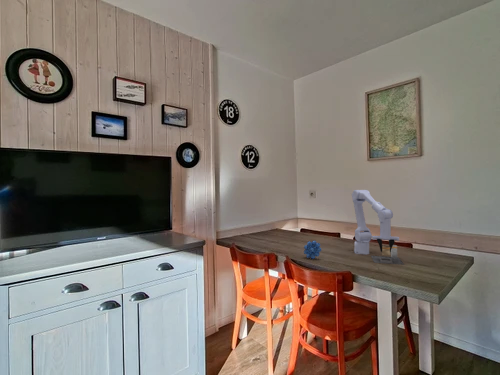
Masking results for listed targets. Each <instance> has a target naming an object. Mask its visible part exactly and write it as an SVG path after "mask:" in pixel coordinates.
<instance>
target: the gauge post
mask: <svg viewBox="0 0 500 375" xmlns="http://www.w3.org/2000/svg"><path fill="white" fill-rule="evenodd" d="M397 257H398V245H396V244H393V246H392V249H391V252H390V259H393V260H394V259H395V260H396V259H398V258H397Z"/></svg>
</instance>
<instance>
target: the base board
mask: <svg viewBox="0 0 500 375" xmlns="http://www.w3.org/2000/svg"><path fill="white" fill-rule="evenodd" d="M370 256H371V258H372V261H373V262H374V263H376V264H377V263H378V264H387V265H390V264H391V265H405V264H404V262H403V261H402V260H401V259H400V257H399V256H397V259H392V258H391V257H390V256H385V255H381V256H380V255H378V256H375V255H370Z"/></svg>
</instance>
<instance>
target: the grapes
mask: <svg viewBox="0 0 500 375" xmlns="http://www.w3.org/2000/svg"><path fill="white" fill-rule="evenodd" d="M320 252H322V247H321V243H320V242H317V241H316V240H312V241H307V243H306V244H305V245H304V246H303V254H304V255H305V256H306V258H307V259H309V258H311V260H314V259H315V258H316V257H318V258H319V256H320Z"/></svg>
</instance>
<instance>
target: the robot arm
mask: <svg viewBox="0 0 500 375" xmlns="http://www.w3.org/2000/svg"><path fill="white" fill-rule="evenodd" d="M351 198H352V202H353V208H354V213H355V219H356V224H357V228H356V229H355V230H354V238H355V241H354V246H353V247H354V249H353V252H354V254H356V255H369V254H370V242H371V240H376V241H377V244H378V245H379V250H380V253H381V252H382V245H383V241H388V246H389V247H390V253H391V249H392V246H393V245H395V243H396V242H395V241H397V242H399V241H400V237H399V236H391V235H392V234H391V231H392V229H391V228H392V227H391V219H393V216H394V214H393V211H392V210H391V209H389V208H387V207H385V205H383V204H382V202H381V201H376V200H375V199H374V197H373V196H372V195H371V192H370V191H369V190H368V189H354V190H353V191H352V193H351ZM365 202H368V203H369V204H370V205H371V208H372V210H373V211H374V212H375V213H376V214H377V218H378V221H379V231H380V232H379V235H372V232H371V229H370V228H369V227H367V224H366V219H365V213H364V209H363V208H364V207H363V203H365Z"/></svg>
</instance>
